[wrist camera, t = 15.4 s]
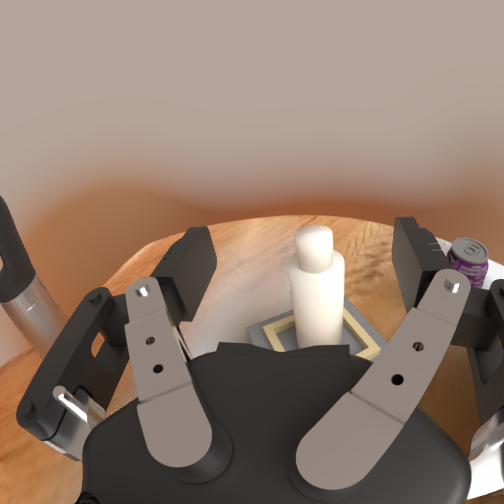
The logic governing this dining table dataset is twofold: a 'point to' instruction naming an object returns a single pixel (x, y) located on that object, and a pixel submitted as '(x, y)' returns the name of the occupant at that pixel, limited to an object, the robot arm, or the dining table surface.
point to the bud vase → (317, 287)
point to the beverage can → (469, 260)
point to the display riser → (353, 333)
